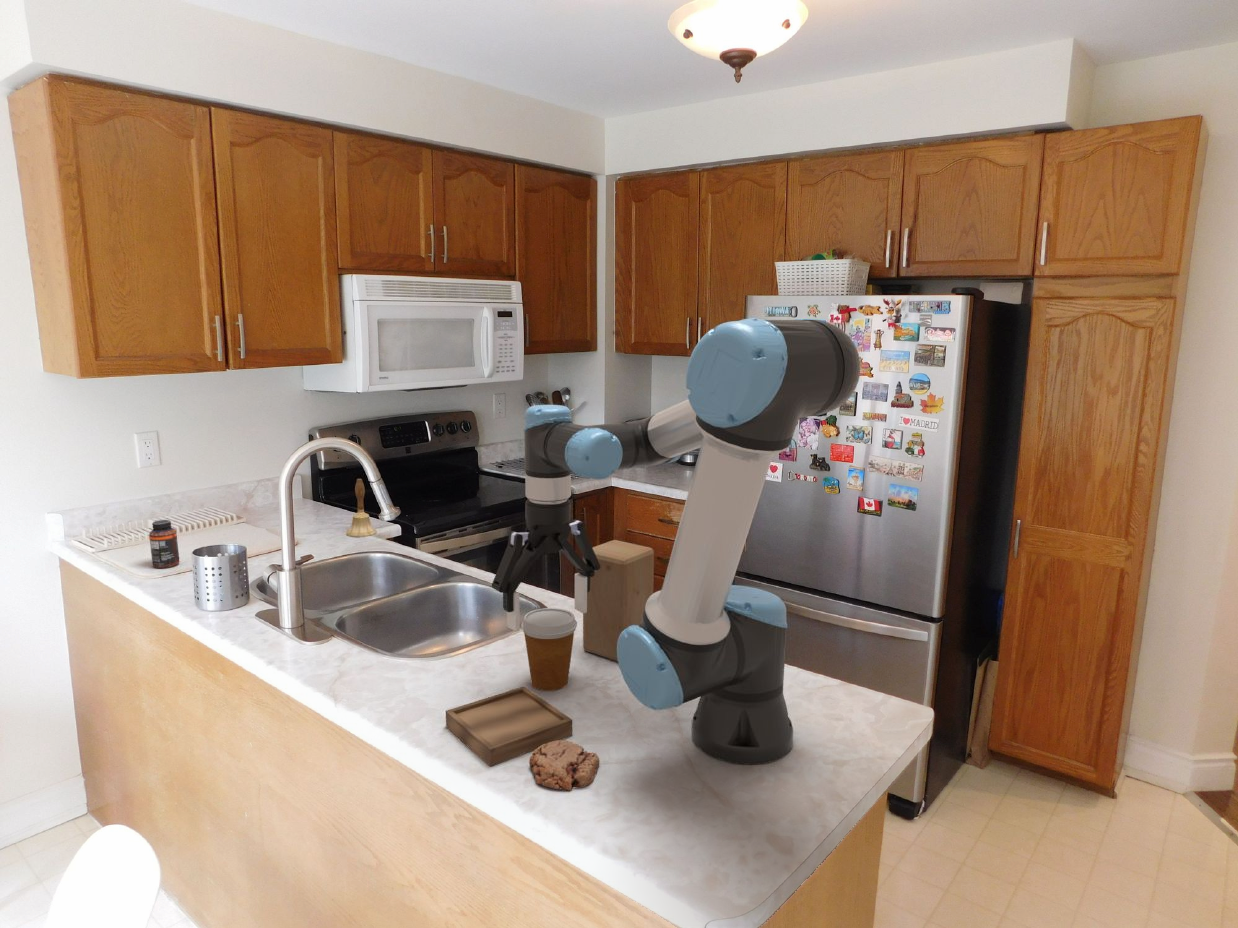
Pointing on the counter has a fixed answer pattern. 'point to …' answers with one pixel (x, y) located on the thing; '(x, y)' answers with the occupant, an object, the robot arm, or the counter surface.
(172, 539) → the supplement bottle
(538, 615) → the disposable coffee cup
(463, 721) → the wooden tray
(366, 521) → the hand bell
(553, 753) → the cookie
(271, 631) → the counter surface
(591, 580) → the wooden block
